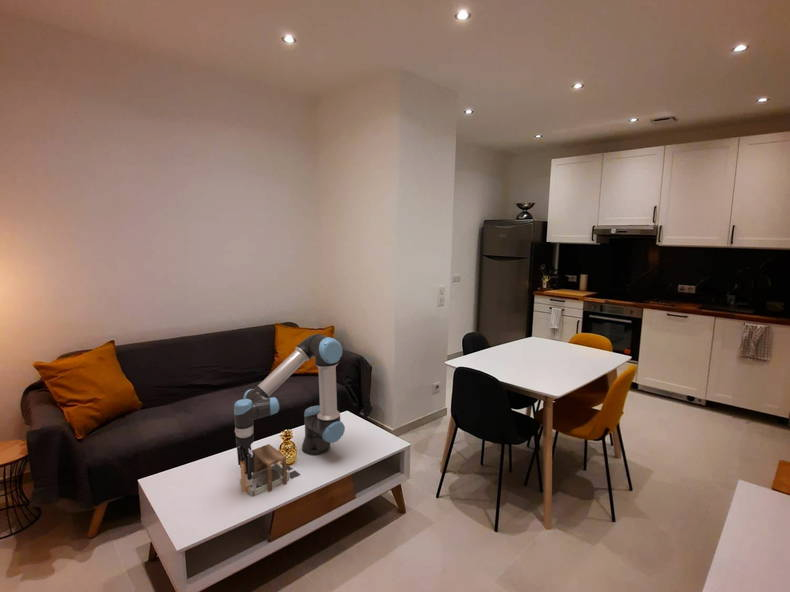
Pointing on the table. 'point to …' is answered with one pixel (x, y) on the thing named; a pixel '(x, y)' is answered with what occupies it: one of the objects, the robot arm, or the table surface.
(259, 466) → the tunnel
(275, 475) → the fossilized seashell
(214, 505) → the table surface
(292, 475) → the pits
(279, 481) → the sled
